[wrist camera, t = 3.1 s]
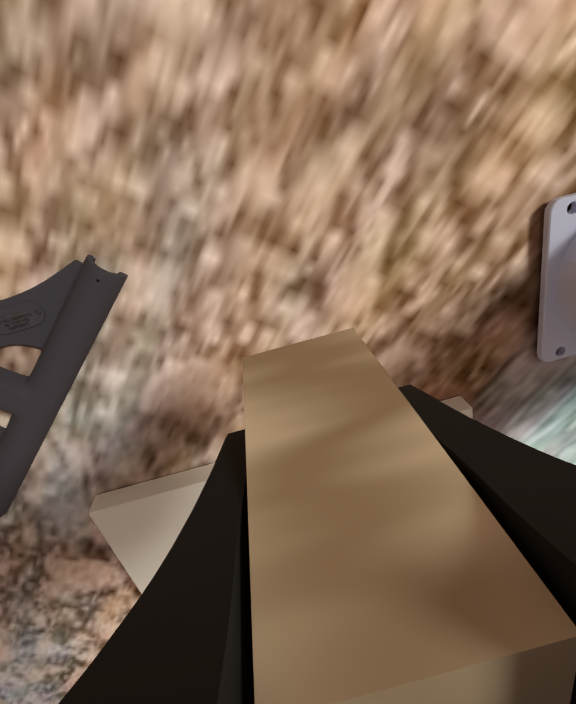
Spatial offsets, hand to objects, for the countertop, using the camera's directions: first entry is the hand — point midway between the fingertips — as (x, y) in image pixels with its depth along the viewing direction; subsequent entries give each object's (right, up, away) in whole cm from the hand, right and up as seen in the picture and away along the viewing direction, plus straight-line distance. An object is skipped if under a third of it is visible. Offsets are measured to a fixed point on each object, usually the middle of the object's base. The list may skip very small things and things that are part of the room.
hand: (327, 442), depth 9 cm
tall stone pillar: (0, +1, +2) cm, 2 cm away
